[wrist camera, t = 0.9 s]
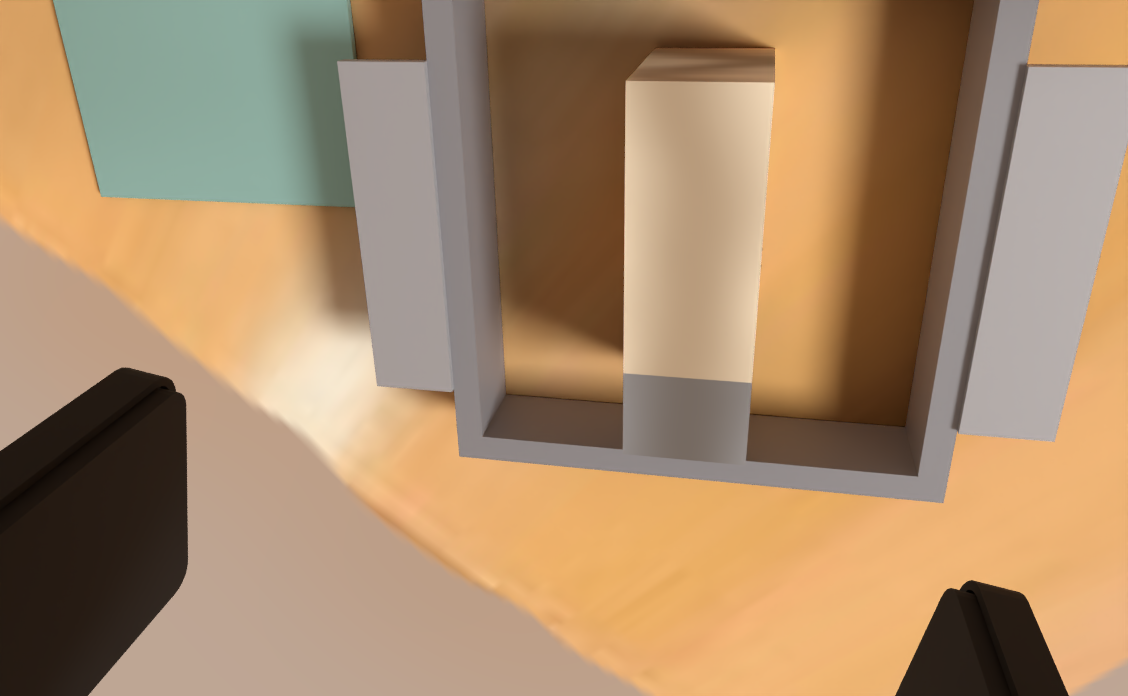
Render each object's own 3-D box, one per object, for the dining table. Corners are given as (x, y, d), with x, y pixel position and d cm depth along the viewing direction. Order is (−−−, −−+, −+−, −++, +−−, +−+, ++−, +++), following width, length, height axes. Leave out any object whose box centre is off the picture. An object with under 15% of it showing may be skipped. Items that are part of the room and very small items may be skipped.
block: (775, 48, 30) (774, 82, 24) (750, 369, 35) (745, 465, 29) (655, 47, 31) (625, 80, 25) (648, 361, 36) (622, 453, 30)
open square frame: (1126, -56, 27) (1175, -52, 24) (1011, 458, 35) (1036, 516, 31) (371, -44, 32) (324, -39, 28) (418, 407, 39) (385, 452, 36)
